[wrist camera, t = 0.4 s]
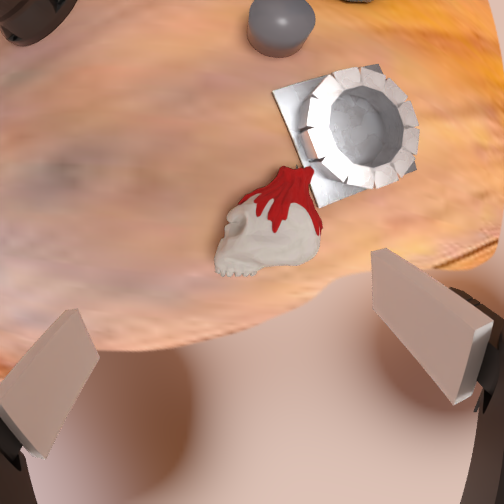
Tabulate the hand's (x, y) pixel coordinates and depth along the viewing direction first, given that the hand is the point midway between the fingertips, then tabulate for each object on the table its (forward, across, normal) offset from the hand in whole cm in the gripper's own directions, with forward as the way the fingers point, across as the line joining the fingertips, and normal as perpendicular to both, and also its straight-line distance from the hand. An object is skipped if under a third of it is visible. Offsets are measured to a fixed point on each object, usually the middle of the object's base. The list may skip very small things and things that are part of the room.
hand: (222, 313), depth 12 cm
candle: (+27, +5, -2) cm, 28 cm away
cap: (+27, +10, +23) cm, 37 cm away
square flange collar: (+27, +18, +8) cm, 33 cm away
